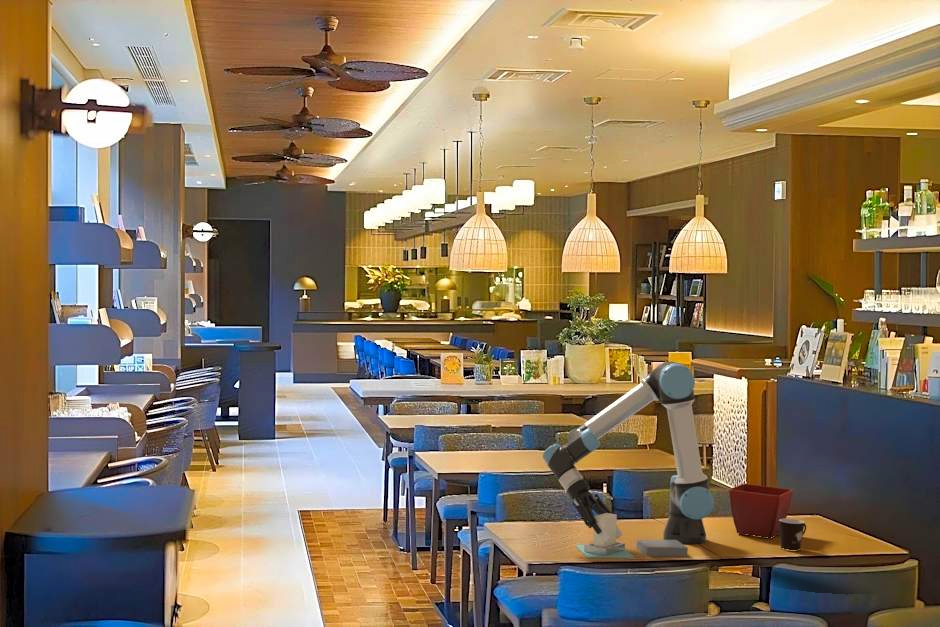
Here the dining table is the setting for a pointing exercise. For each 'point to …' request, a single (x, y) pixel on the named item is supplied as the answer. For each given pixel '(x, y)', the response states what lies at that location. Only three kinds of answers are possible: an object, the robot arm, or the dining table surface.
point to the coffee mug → (791, 533)
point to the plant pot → (759, 508)
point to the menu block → (606, 529)
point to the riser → (662, 548)
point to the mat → (616, 555)
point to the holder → (604, 549)
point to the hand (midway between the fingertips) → (613, 538)
